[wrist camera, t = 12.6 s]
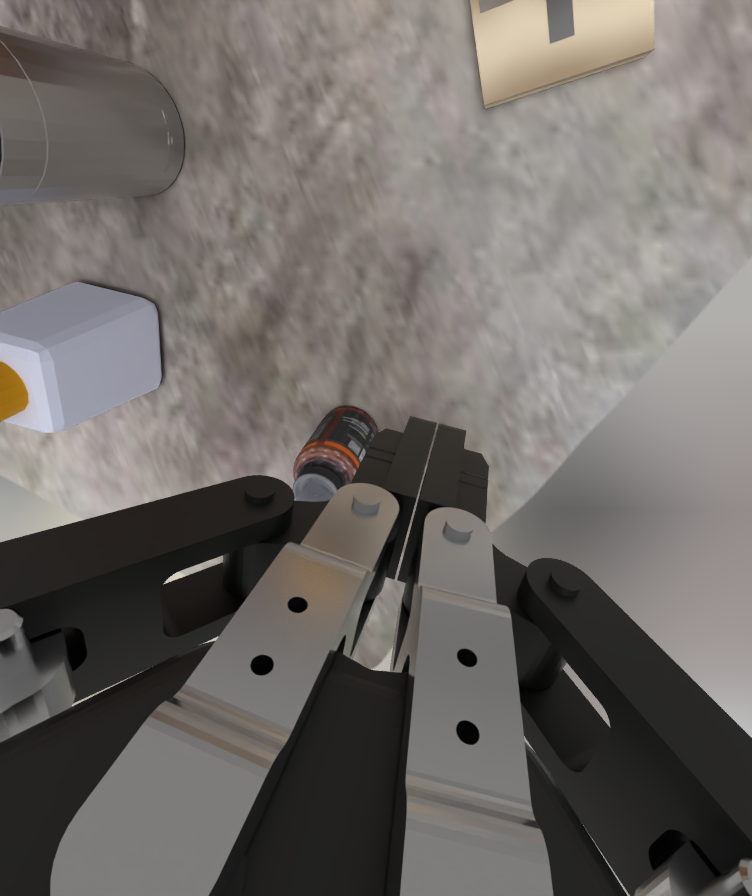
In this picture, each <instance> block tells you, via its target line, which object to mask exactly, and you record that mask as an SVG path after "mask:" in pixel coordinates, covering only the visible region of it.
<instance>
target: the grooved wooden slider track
mask: <svg viewBox="0 0 752 896" xmlns="http://www.w3.org/2000/svg"><path fill="white" fill-rule="evenodd" d="M470 5H471V12H472V19H473V27H474V34H475V42H476V49H477V57H478V64H479V71H480V79H481V86H482V94H483V101H484V107H485V109H488V108H491V107H494V106H497V105H500V104H503V103H506V102H509V101H512V100H515V99H518V98H521V97H524V96H527V95H530V94H534V93H537V92H540V91H543V90H546V89H549V88H552V87H555V86H558V85H561V84H564V83H567V82H570V81H573V80H576V79H579V78H582V77H585V76H588V75H591V74H595V73H598V72H601V71H604V70H607V69H610V68H613V67H616V66H619V65H622V64H625V63H628V62H631V61H634V60H637V59H640V58H643V57H645V56H646V55H648V54H649V53H650V52H651V51H653V50H654V49H655V47H654V0H470Z"/></svg>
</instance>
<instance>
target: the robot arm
mask: <svg viewBox="0 0 752 896" xmlns="http://www.w3.org/2000/svg"><path fill="white" fill-rule="evenodd" d="M183 157H184V136H183V128H182V125H181V121H180V117H179V114H178V112H177V110H176V107H175V105H174V103H173V101H172V99H171V98H170V96H169V94H168V93H167V91H166V90H165V88H164V87H163V86H162V85H161V84H160V83H159V82H158V80H157V79H156V78H155V77H153V76H152V75H151V74H149V73H148V72H147V71H146V70H144V69H142V68H140V67H138V66H136V65H134V64H131V63H127V62H124V61H120V60H117V59H113V58H110V57H106V56H103V55H99V54H97V53H93V52H90V51H86V50H83V49H79V48H76V47H72V46H69V45H65V44H62V43H58V42H55V41H51V40H48V39H44V38H41V37H37V36H34V35H30V34H27V33H23V32H20V31H16V30H13V29H9V28H6V27H2V26H0V206H7V205H20V204H34V203H49V202H63V201H78V200H92V199H107V198H124V197H138V196H151V195H155V194H158V193H161V192H162V191H164V190H165V189H167V188H168V187H169V186H170V185H171V184H172V183H173V182H174V180H175V179H176V177H177V175H178V173H179V171H180V169H181V165H182V161H183ZM436 424H437V423H435V422H431V421H427V420H424V419H420V418H416V417H412V416H410V418H409V421H408V423H407V426H406V428H405V431H404V433H401V432H398V431H394V430H390V429H384V430H383V431H381V432H379V433H378V434H376V435H374V437H373V439H372V441H371V443H370V445H369V448H368V449H367V451H366V453H365V455H364V457H363V459H362V461H361V463H360V465H359V467H358V469H357V471H356V473H355V475H354V477H353V479H352V481H351V483H350V484H348V485H345V486H343V487H341V488H340V489H338V490H337V491H336V492H335V494H334V495H333V497H332V498H331V500H327V501H320V502H310V501H294V498H295V497H294V492H293V490H292V489H291V488H290V486H289V485H287V484H286V483H285V482H283V481H281V480H279V479H277V478H274V477H269V476H262V475H253V476H246V477H242V478H238V479H235V480H231V481H227V482H223V483H220V484H216V485H212V486H209V487H205V488H201V489H197V490H194V491H190V492H186V493H183V494H179V495H175V496H171V497H168V498H164V499H160V500H156V501H153V502H149V503H145V504H142V505H138V506H134V507H130V508H127V509H123V510H119V511H116V512H112V513H108V514H104V515H101V516H97V517H93V518H90V519H86V520H82V521H78V522H75V523H71V524H67V525H64V526H60V527H56V528H53V529H49V530H45V531H41V532H38V533H34V534H30V535H26V536H23V537H19V538H15V539H11V540H8V541H5V542H0V896H627V894H626V893H625V891H624V890H623V888H622V886H621V885H620V883H619V882H618V880H617V878H616V877H615V875H614V874H613V872H612V871H611V869H610V867H609V866H608V864H607V863H606V861H605V859H604V858H603V856H604V857H605V858H606V860H607V862H608V863H609V865H610V866H611V867H612V869H613V871H614V872H615V874H616V875H617V877H618V878H619V880H620V881H621V883H622V884H623V886H624V887H625V889H626V890H627V892H628V893H629V894H630V896H752V738H751V737H750V736H749V735H748V734H747V733H746V732H745V731H744V730H743V729H742V728H741V727H740V726H739V725H738V724H737V723H736V722H735V721H734V720H733V719H732V718H731V717H730V716H729V715H728V714H727V713H726V712H725V711H724V710H723V709H722V708H721V707H720V706H719V705H718V704H717V703H716V702H715V701H714V700H713V699H712V698H711V697H710V696H709V695H707V693H706V692H705V691H704V690H703V689H702V688H701V687H700V686H698V684H697V683H696V682H694V681H693V680H692V678H691V677H690V676H688V674H687V673H686V672H684V670H683V669H681V668H680V666H678V665H677V664H676V663H675V662H674V661H673V660H672V659H671V658H670V657H669V656H668V655H667V654H666V653H665V652H664V651H663V650H662V649H661V648H660V647H659V646H658V645H657V644H656V643H655V642H654V641H653V640H652V639H651V638H650V637H649V636H648V635H647V634H646V633H645V632H644V631H643V630H642V629H641V628H640V627H639V626H638V625H637V624H636V623H635V622H634V621H633V620H632V619H631V618H630V617H629V616H628V615H627V614H626V613H625V612H624V611H623V610H622V609H621V608H620V607H619V606H618V605H617V604H616V603H615V602H614V601H613V600H612V599H611V598H610V597H609V596H608V595H607V594H606V593H605V592H604V591H603V590H602V589H601V588H600V587H599V586H598V585H597V584H596V583H595V582H594V581H593V580H592V579H591V578H590V577H589V576H588V575H586V574H585V573H584V572H583V571H581V570H580V569H578V568H577V567H575V566H573V565H571V564H569V563H567V562H564V561H561V560H557V559H552V558H541V559H537V560H535V561H533V562H531V563H530V565H529V566H528V567H526V566H524V565H522V564H520V563H518V562H517V561H515V560H513V559H511V558H509V557H508V556H506V555H504V554H503V553H502V552H500V551H499V550H498V549H497V548H496V547H495V546H494V545H493V544H492V536H491V532H490V530H489V528H488V527H487V525H486V524H485V523H486V505H487V487H488V469H489V466H488V464H487V463H486V461H485V459H484V458H483V456H482V454H480V453H477V452H473V451H469V450H465V449H464V442H465V435H466V430H462V429H458V428H454V427H451V426H447V425H443V424H439V426H438V430H437V433H436V437H435V441H434V444H433V448H432V452H431V455H430V459H429V463H428V466H427V470H426V473H425V477H424V481H423V484H422V488H421V492H420V496H419V499H418V503H417V507H416V511H415V515H414V518H413V522H412V526H411V530H410V534H409V537H408V541H407V545H406V549H405V552H404V556H403V560H402V564H401V568H400V571H399V575H398V579H397V580H398V581H402V582H405V583H406V585H405V589H404V593H403V597H402V600H401V604H400V607H399V611H398V616H397V623H396V630H395V637H394V644H393V652H392V659H391V666H390V672H387V671H375V670H371V669H368V668H366V667H364V666H362V665H360V664H359V663H357V662H355V661H354V660H353V658H354V655H355V653H356V650H357V648H358V645H359V643H360V640H361V638H362V636H363V633H364V631H365V628H366V626H367V623H368V621H369V618H370V616H371V613H372V611H373V609H374V606H375V603H376V599H377V596H378V595H379V593H380V592H381V590H382V588H383V585H384V581H385V578H386V577H388V578H391V579H395V575H396V571H397V568H398V564H399V560H400V557H401V553H402V549H403V546H404V542H405V538H406V535H407V531H408V527H409V524H410V520H411V516H412V513H413V509H414V505H415V502H416V498H417V494H418V491H419V487H420V483H421V480H422V476H423V472H424V469H425V465H426V461H427V457H428V454H429V450H430V446H431V443H432V439H433V435H434V432H435V428H436ZM222 555H223V563H220V564H217V565H215V566H212V567H209V568H207V569H204V570H201V571H198V572H196V573H193V574H190V575H188V576H185V577H183V578H180V579H177V580H174V581H172V582H169V583H166V584H164V582H165V581H166V580H167V579H168V578H169V577H170V576H172V575H173V574H175V573H176V572H178V571H181V570H183V569H186V568H189V567H192V566H194V565H197V564H200V563H203V562H206V561H208V560H211V559H214V558H217V557H219V556H222ZM217 636H219V637H218V639H217V640H216V641H213V642H209V643H205V642H207V641H209V640H211V639H213V638H215V637H217ZM202 643H205V644H202ZM200 644H201V645H200ZM198 645H199V646H198ZM566 663H568V664H569V665H570V667H571V668H572V669H573V670H574V672H575V673H576V674H577V675H578V676H579V678H580V679H581V680H582V681H583V683H584V684H585V685H586V686H587V687H588V689H589V690H590V691H591V692H592V693H593V695H594V696H595V697H596V698H597V699H598V701H599V702H600V703H601V705H602V706H603V708H604V709H605V711H606V713H607V715H608V718H609V721H610V727H611V728H610V727H609V726H608V725H607V723H606V722H605V721H604V720H603V719H602V717H601V716H600V715H599V714H598V712H597V711H596V710H595V709H594V707H593V706H592V705H591V704H590V702H589V701H588V700H587V699H586V698H585V696H584V695H583V694H582V692H581V691H580V690H579V689H578V687H577V686H576V685H575V684H574V682H573V681H572V680H571V679H570V677H569V676H568V675H567V674H566V673H565V671H564V670H563V667H564V666H565V664H566ZM148 668H149V669H148ZM146 669H147V670H146ZM144 670H145V671H144ZM142 671H143V672H142ZM140 672H141V673H140ZM137 673H139V674H137ZM136 674H137V675H136ZM133 675H135V676H133ZM131 676H133V677H131ZM129 677H131V678H129ZM127 678H129V679H127ZM125 679H127V680H125ZM123 680H125V681H123ZM120 681H123V682H121V683H119V684H117V685H115V686H113V687H111V688H109V689H107V690H105V691H103V692H101V693H99V694H97V695H95V696H93V697H91V698H89V699H87V700H85V701H83V702H81V703H79V704H77V705H75V706H73V707H72V704H73V703H75V702H77V701H79V700H82V699H84V698H86V697H88V696H90V695H92V694H94V693H96V692H99V691H101V690H103V689H105V688H107V687H110V686H112V685H114V684H116V683H118V682H120ZM524 736H525V737H526V739H527V741H528V742H529V744H530V745H531V747H532V748H533V750H534V751H535V752H534V751H533V750H532V749H531V748H530V747H529V746H528V745H527V743H526V742H525V741H524ZM581 822H582V823H581ZM583 825H584V826H583ZM585 828H586V829H585ZM586 830H587V831H588V832H587V831H586ZM588 833H589V834H590V835H589V834H588ZM590 836H591V837H592V839H593V840H594V842H595V843H596V845H597V846H598V848H599V849H600V851H601V852H602V854H603V856H602V855H601V853H600V851H599V850H598V848H597V847H596V845H595V843H594V842H593V840H592V839H591V837H590Z"/></svg>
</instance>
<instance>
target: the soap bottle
mask: <svg viewBox="0 0 752 896" xmlns="http://www.w3.org/2000/svg"><path fill="white" fill-rule="evenodd" d="M161 378H162V371H161V355H160V338H159V322H158V312H157V309H156V306H155V304H153V303H152V302H150V301H148V300H146V299H144V298H142V297H138V296H134V295H130V294H125V293H121V292H117V291H113V290H109V289H105V288H101V287H97V286H93V285H89V284H85V283H81V282H75V283H71V284H67V285H65V286H63V287H60V288H58V289H55V290H53V291H50V292H48V293H46V294H43V295H41V296H38V297H36V298H33V299H31V300H28V301H26V302H24V303H21V304H19V305H16V306H14V307H11V308H9V309H7V310H4V311H2V312H0V422H1V421H5V422H9V423H13V424H16V425H20V426H23V427H27V428H30V429H34V430H37V431H41V432H44V433H53V432H59V431H63V430H65V429H68V428H70V427H72V426H74V425H77V424H79V423H81V422H83V421H86V420H88V419H90V418H92V417H95V416H97V415H99V414H101V413H103V412H106V411H108V410H110V409H112V408H115V407H117V406H119V405H121V404H124V403H126V402H128V401H130V400H133V399H135V398H137V397H139V396H142V395H144V394H146V393H148V392H151V391H153V390H155V389H157V388H158V387H159V384H160V381H161Z"/></svg>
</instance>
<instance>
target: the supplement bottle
mask: <svg viewBox="0 0 752 896" xmlns="http://www.w3.org/2000/svg"><path fill="white" fill-rule="evenodd" d="M376 434H378V431H377V428H376V425H375V424H374V422H373V420H372V419H371V418H370V417H369V416H368V415H367V414H366V413H364V412H362V411H361V410H359V409H356V408H351V407H341V408H337V409H335V410H333V411H331V412H330V413H328V414H327V415H326V417H325V418H324V419H323V420H322V422H321V423H320V425H319V426H318V427H317V429H316V430H315V432H314V433H313V434H312V436H311V438H310V439H309V440H308V442H307V443H306V445H305V446H304V448H303V449H302V451H301V452H300V453H299V455H298V457H297V458H296V461H295V463H294V469H293V474H294V480H295V482H294V485H293V492H294V497H295V500H296V501H310V502H320V501H327V500H331V498H332V497H333V495H334V494H335V492H336V491H337V490H338V489H340V488H341V487H343V486H345V485H348V484H350V483H351V481H352V479H353V477H354V475H355V473H356V471H357V469H358V467H359V465H360V463H361V461H362V459H363V457H364V455H365V453H366V451H367V449H368V448H369V445H370V443H371V441H372V439H373V437H374V435H376Z"/></svg>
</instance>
